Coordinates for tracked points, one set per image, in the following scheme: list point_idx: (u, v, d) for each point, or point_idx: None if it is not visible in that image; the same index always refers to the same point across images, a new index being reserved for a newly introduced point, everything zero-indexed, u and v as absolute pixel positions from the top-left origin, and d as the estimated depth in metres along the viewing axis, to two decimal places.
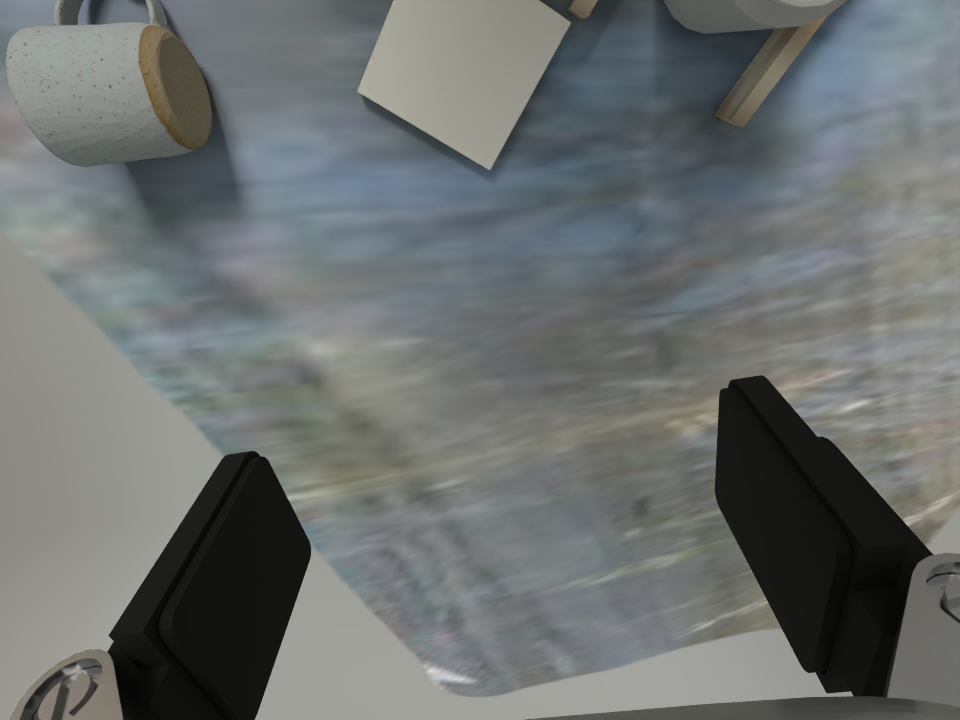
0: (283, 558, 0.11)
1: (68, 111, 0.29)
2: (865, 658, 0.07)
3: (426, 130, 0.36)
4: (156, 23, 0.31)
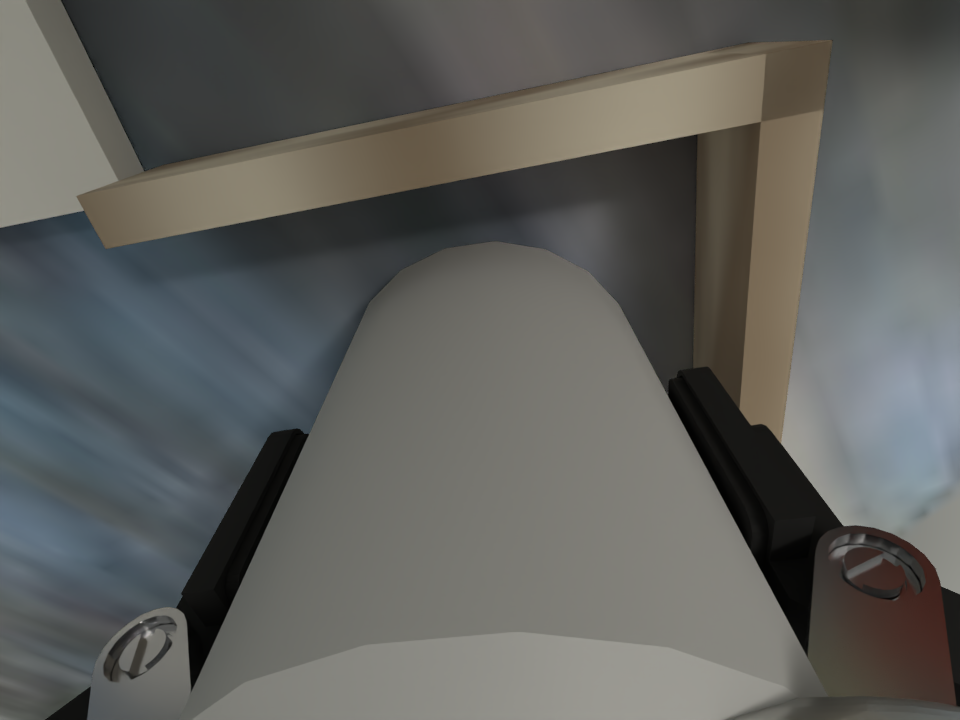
0: None
1: None
2: None
3: None
4: None
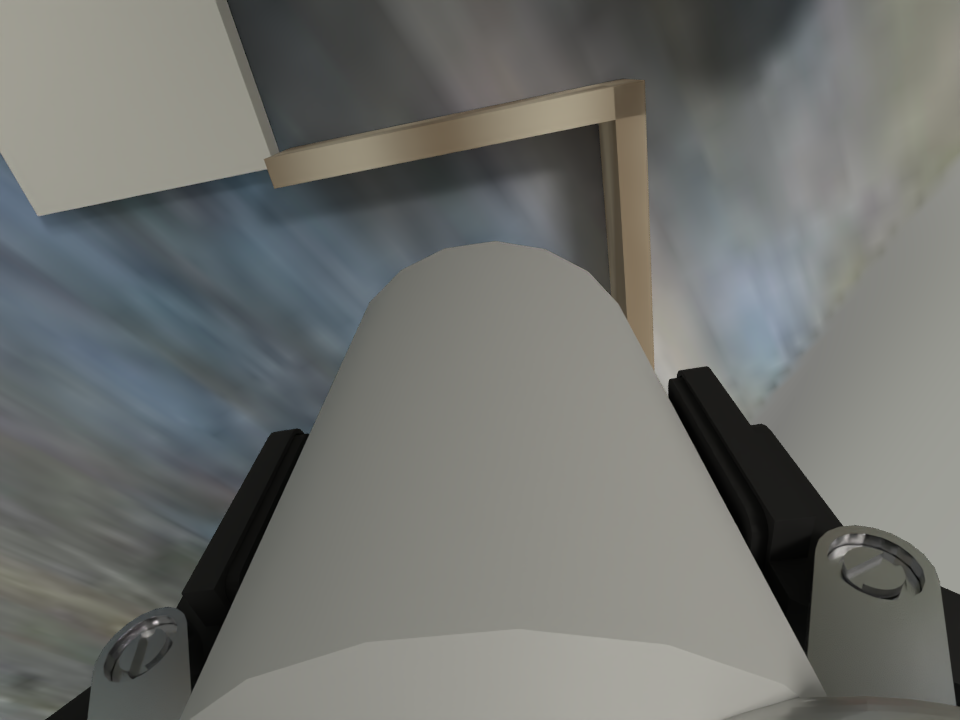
0: None
1: None
2: None
3: None
4: None
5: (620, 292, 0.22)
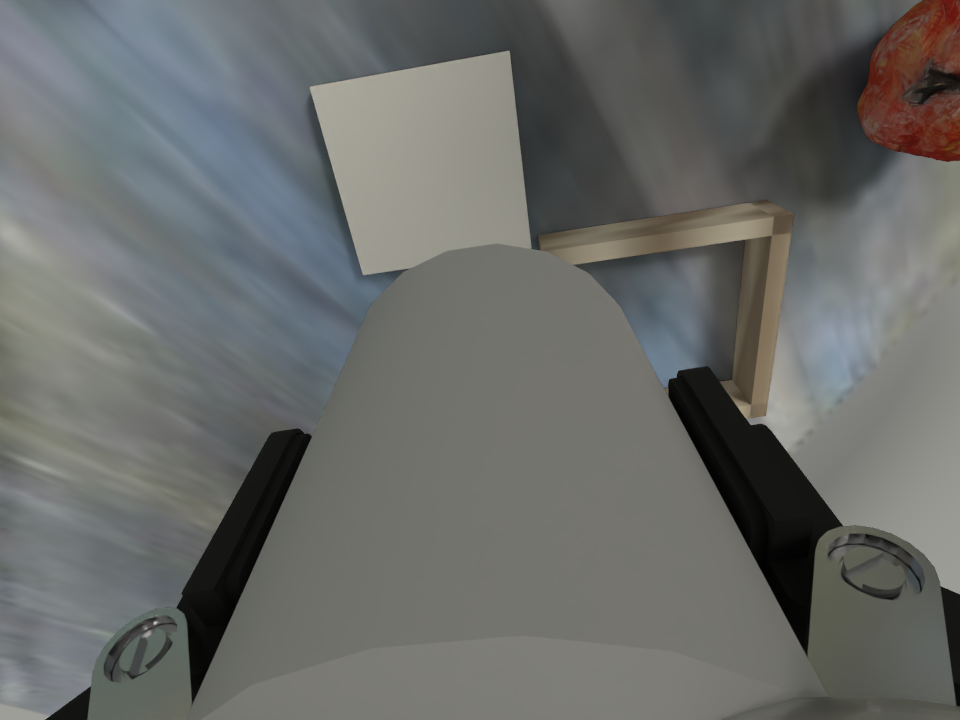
0: None
1: None
2: None
3: (340, 188, 0.29)
4: None
5: (751, 337, 0.32)
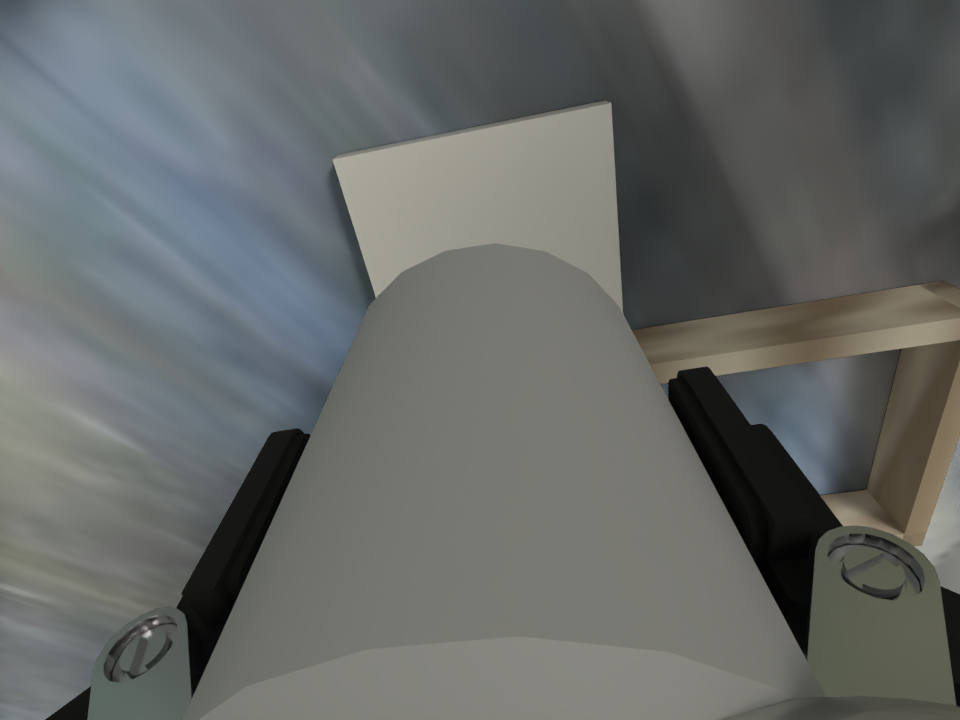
0: None
1: None
2: None
3: (375, 285, 0.22)
4: None
5: (910, 453, 0.24)
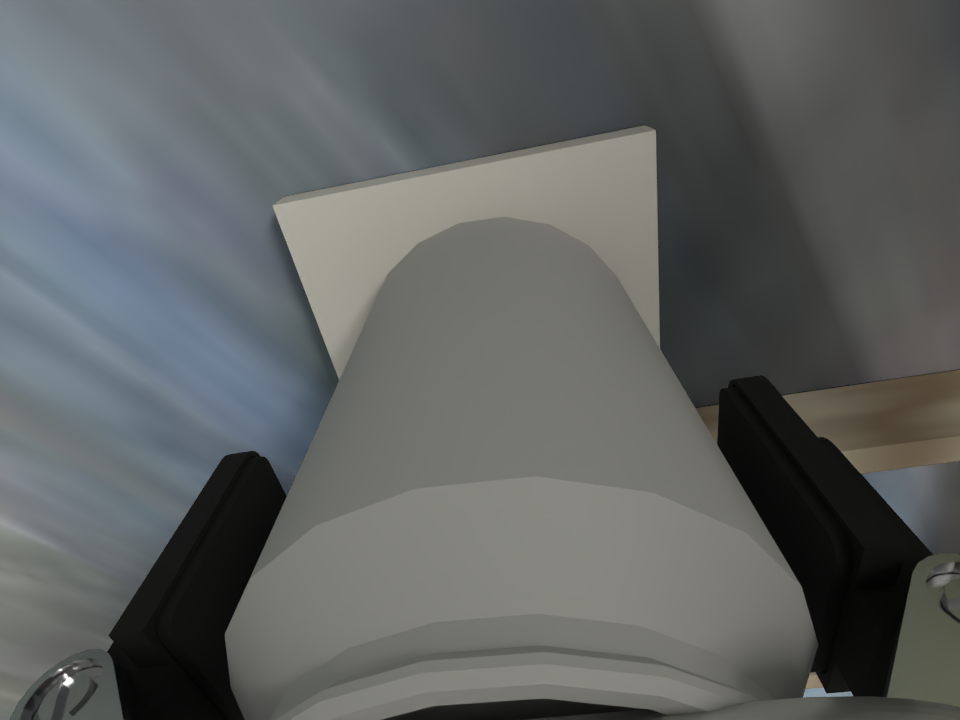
0: None
1: None
2: (865, 658, 0.07)
3: (337, 364, 0.16)
4: None
5: None
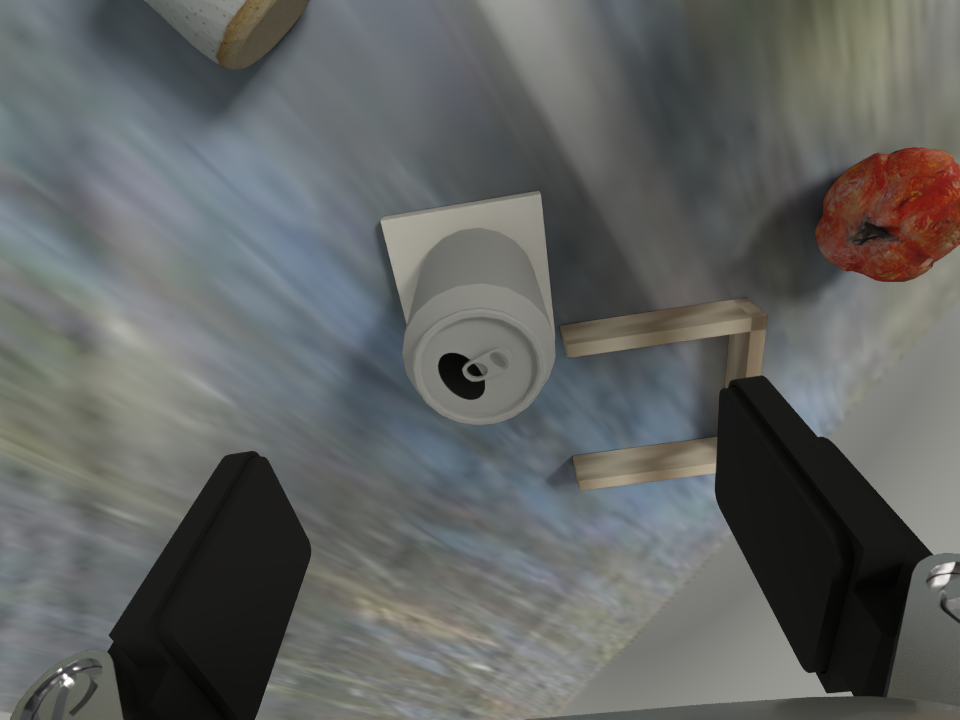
0: (283, 558, 0.11)
1: None
2: (865, 658, 0.07)
3: (401, 294, 0.35)
4: None
5: None
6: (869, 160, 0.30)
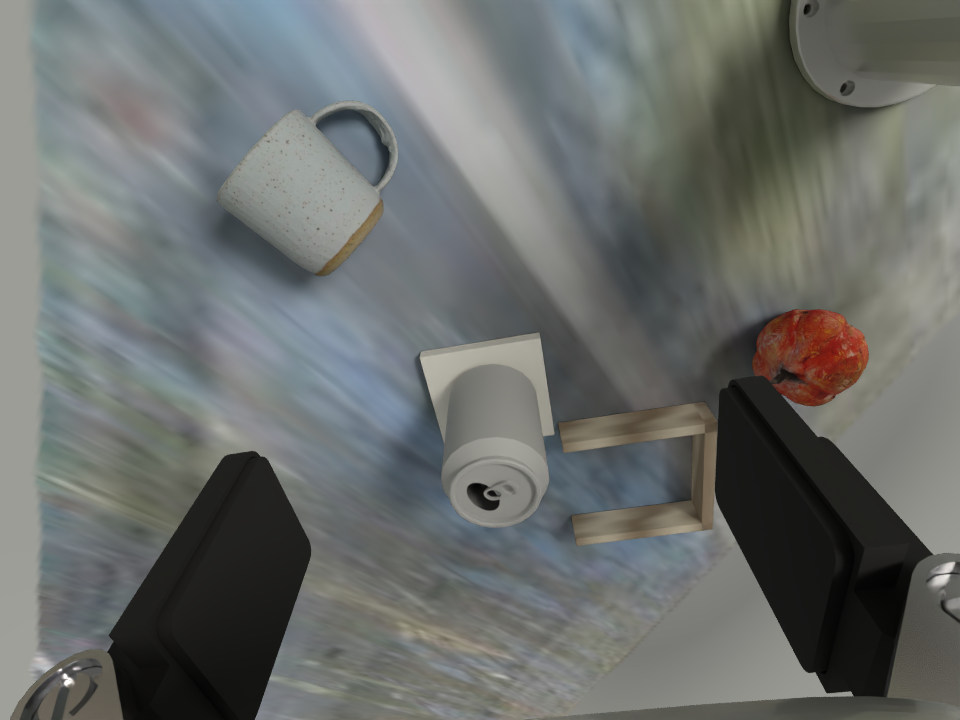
0: (283, 558, 0.11)
1: (269, 208, 0.31)
2: (865, 658, 0.07)
3: (435, 406, 0.46)
4: (379, 191, 0.35)
5: (699, 482, 0.49)
6: (786, 318, 0.40)
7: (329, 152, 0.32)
